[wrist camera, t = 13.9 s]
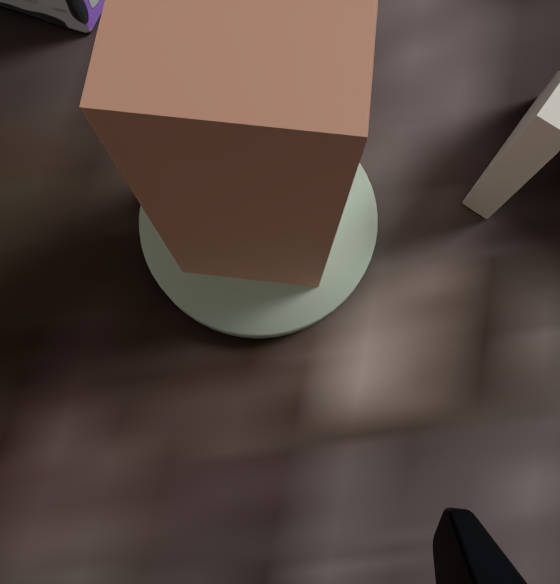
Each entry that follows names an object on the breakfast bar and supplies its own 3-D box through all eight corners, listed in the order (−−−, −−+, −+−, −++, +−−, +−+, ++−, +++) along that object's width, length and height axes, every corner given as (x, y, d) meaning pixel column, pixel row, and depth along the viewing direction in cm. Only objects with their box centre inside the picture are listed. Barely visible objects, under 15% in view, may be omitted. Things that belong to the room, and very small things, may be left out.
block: (318, 287, 18) (367, 137, 9) (182, 272, 18) (79, 106, 9) (330, 163, 20) (384, -90, 10) (202, 150, 20) (131, -115, 10)
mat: (392, 321, 19) (399, 315, 18) (154, 354, 19) (148, 350, 18) (351, 113, 21) (354, 98, 20) (137, 139, 21) (130, 125, 20)
